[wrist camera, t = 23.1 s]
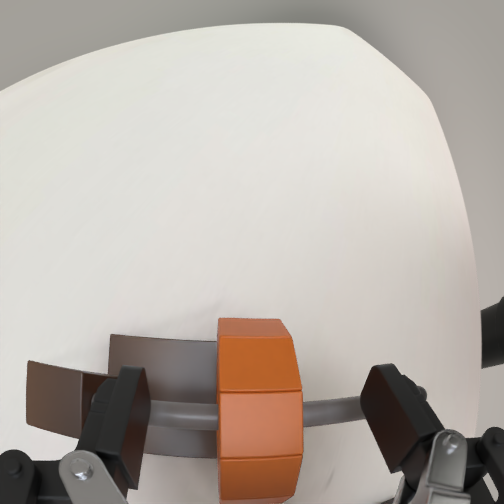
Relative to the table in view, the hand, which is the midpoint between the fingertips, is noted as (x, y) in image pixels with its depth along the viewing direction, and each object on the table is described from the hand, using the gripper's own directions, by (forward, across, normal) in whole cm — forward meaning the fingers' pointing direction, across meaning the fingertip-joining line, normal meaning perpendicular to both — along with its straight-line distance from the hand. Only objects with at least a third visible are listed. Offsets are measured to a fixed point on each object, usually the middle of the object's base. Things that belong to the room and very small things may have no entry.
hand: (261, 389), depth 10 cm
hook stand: (+10, +1, +12) cm, 15 cm away
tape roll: (+6, 0, +8) cm, 10 cm away
